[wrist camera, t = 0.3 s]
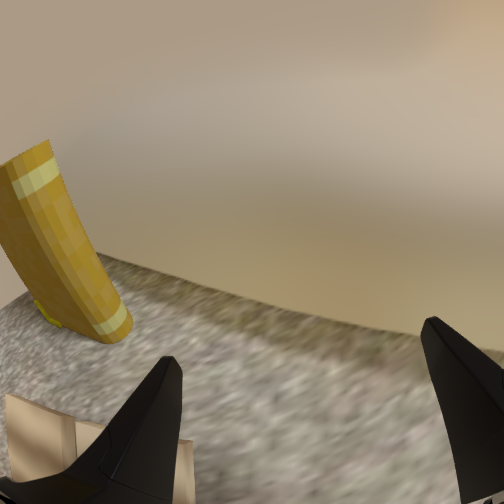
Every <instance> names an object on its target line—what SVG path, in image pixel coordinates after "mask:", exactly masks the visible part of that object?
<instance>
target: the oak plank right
mask: <svg viewBox="0 0 504 504" xmlns="http://www.w3.org/2000/svg"><path fill="white" fill-rule="evenodd" d="M105 427H106V426H105V425H101V424H97V423H93V422H81V421H76V446H77V458H78V457H79V456H80V455H81V454H82V453H83V452H84V451H85V450H86V449H87V448H88V447H89V446H90V445H91V444H92V443H93V442H94V441H95V440H96V438H97V437H98V436H99V435H100V434H101V432H102V431H103V430H104V429H105ZM172 503H173V504H196V497H195V483H194V465H193V441H190V440H181V439H179V440H178V449H177V458H176V468H175V479H174V490H173V502H172Z"/></svg>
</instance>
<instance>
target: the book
mask: <svg viewBox="0 0 504 504" xmlns="http://www.w3.org/2000/svg"><path fill="white" fill-rule="evenodd" d="M0 244H1V246H2V248H3V250H4V251H5V253H6V255H7V257H8V258H9V260H10V262H11V263H12V265H13V267H14V268H15V270H16V271H17V273H18V275H19V276H20V278H21V279H22V281H23V282H24V284H25V285H26V287H27V288H28V290H29V291H30V293H31V294H32V296H33V297H34V299H35V300H34V303H35V304H36V306H37V307H38V308H39V310H40V311H41V312H42V314H43V315H44V316H45V318H46V319H47V320H48V322H49V323H51V324H53V325H55V326H57V327H60V328H62V326H64V327H66V328H68V329H71V330H73V331H75V332H78V333H80V334H82V335H85V336H87V337H90V338H92V339H95V340H97V341H100V342H102V343H105V344H114V343H116V342H118V341H121V340H122V339H123V338H124V337H126V336H127V335H128V333H129V332H130V330H131V329H132V325H133V319H132V316H131V314H130V313H129V311H128V309H127V308H126V306H125V305H124V303H123V301H122V300H121V298H120V296H119V294H118V293H117V291H116V289H115V288H114V286H113V284H112V282H111V281H110V279H109V277H108V275H107V273H106V271H105V270H104V268H103V266H102V264H101V262H100V260H99V258H98V256H97V254H96V253H95V251H94V249H93V247H92V245H91V243H90V241H89V238H88V236H87V234H86V232H85V230H84V228H83V226H82V224H81V222H80V219H79V217H78V215H77V213H76V210H75V208H74V206H73V204H72V201H71V199H70V196H69V194H68V191H67V189H66V187H65V184H64V181H63V179H62V176H61V174H60V171H59V168H58V165H57V162H56V160H55V157H54V154H53V151H52V148H51V145H50V142H49V140H46V141H44V142H42V143H40V144H38V145H36V146H34V147H32V148H30V149H28V150H26V151H25V152H23V153H21V154H19V155H18V156H16V157H14V158H12V159H11V160H9V161H7V162H5V163H4V164H3V165H1V166H0Z"/></svg>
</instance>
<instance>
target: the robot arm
mask: <svg viewBox="0 0 504 504" xmlns="http://www.w3.org/2000/svg"><path fill="white" fill-rule="evenodd" d="M421 342H422V345H423V349H424V353H425V357H426V361H427V365H428V370H429V374H430V377H431V380H432V383H433V386H434V389H435V392H436V395H437V398H438V402H439V405H440V408H441V411H442V415H443V418H444V422H445V426H446V429H447V433H448V437H449V441H450V445H451V450H452V454H453V459H454V463H455V469H456V474H457V480H458V486H459V492H460V499H461V504H468V503H471V502H474V501H477V500H480V499H483V498H486V497H489V496H491V498H489V499H487V500H486V501H485V502H484V503H483V504H504V369H502V368H501V367H500V366H499V365H498V364H497V363H495V362H494V361H493V360H492V359H491V358H489V357H488V356H487V355H486V354H484V353H483V352H482V351H481V350H480V349H478V348H477V347H476V346H474V345H473V344H472V343H471V342H469V341H468V340H467V339H466V338H464V337H463V336H462V335H460V334H459V333H458V332H457V331H455V330H454V329H453V328H451V327H450V326H449V325H447V324H446V323H445V322H443V321H442V320H441V319H439V318H438V317H436V316H433V317H430V318H427V319H426V320H425V322H424V325H423V328H422V331H421ZM182 377H183V373H182V369H181V367H180V366H179V364H178V363H177V361H176V359H175V358H174V357H173V356H163V357H161V358H160V360H159V361H158V362H157V363H156V365H155V366H154V367H153V368H152V370H151V371H150V372H149V373H148V375H147V376H146V377H145V378H144V380H143V381H142V382H141V383H140V385H139V386H138V387H137V388H136V390H135V391H134V392H133V393H132V395H131V396H130V397H129V398H128V400H127V401H126V402H125V404H124V405H123V406H122V407H121V409H120V410H119V411H118V412H117V414H116V415H115V416H114V417H113V419H112V420H111V421H110V422H109V424H108V426H106V427H105V429H104V430H103V431H102V432H101V434H100V435H99V436H98V437H97V438H96V440H95V441H94V442H93V443H92V444H91V445H90V446H89V447H88V448H87V449H86V450H85V451H84V452H83V453H82V454H81V455H80V456H79V457H78V458H77V459H76V460H75V461H74V462H73V463H72V464H71V465H70V466H69V467H68V468H67V469H66V470H64V471H62V472H60V473H58V474H55V475H51V476H47V477H43V478H39V479H35V480H31V481H26V482H17V481H15V480H13V479H11V478H9V477H7V476H4V477H2V478H0V491H1V492H0V504H173V503H172V502H173V490H174V479H175V468H176V458H177V449H178V440H179V431H180V423H181V414H182Z"/></svg>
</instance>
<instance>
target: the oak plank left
mask: <svg viewBox="0 0 504 504" xmlns="http://www.w3.org/2000/svg"><path fill="white" fill-rule="evenodd" d="M6 428H7V442H8V452H9V460H10V467H11V474H12V479H13V480H15V481H17V482H26V481H31V480H35V479H39V478H43V477H47V476H51V475H55V474H58V473H60V472H62V471H64V470H66V469H67V468H68V467H69V466H70V465H71V464H72V463H73V462H74V461H75V460H76V459H77V457H76V443H75V417H73V416H70V415H67V414H64V413H61V412H58V411H55V410H52V409H50V408H47V407H44V406H42V405H39V404H37V403H34V402H32V401H29V400H27V399H25V398H22V397H20V396H17V395H12V394H8V393H6Z"/></svg>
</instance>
